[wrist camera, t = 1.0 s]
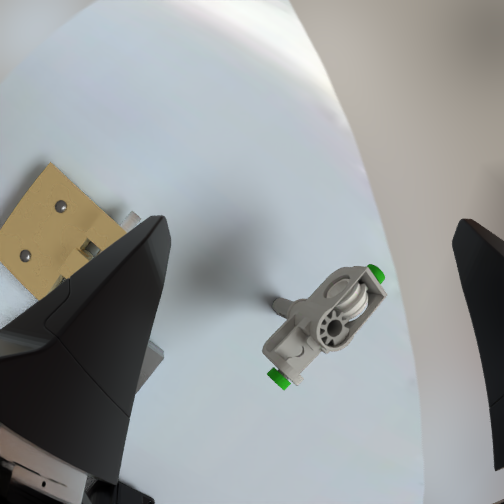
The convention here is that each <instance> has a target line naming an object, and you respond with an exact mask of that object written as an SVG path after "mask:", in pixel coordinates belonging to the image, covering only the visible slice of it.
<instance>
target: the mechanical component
mask: <svg viewBox="0 0 504 504" xmlns="http://www.w3.org/2000/svg"><path fill="white" fill-rule="evenodd" d="M384 279H385V276H384V274H383V272H382V271H381V270H380V269H379V268H378V267H376V266H375V265H372V264H369V265H368V266H367V267H361V266H354V267H343V268H340V269H338V270H336V271H335V272H333V273H332V274H331V275H330V276H329V277H328V278H327V279H326V280H325V281H324V282H323V283H322V284H321V285H320V286H319V287H318V288H317V289H316V290H315V291H314V293H313V294H312V295H311V296H310V297H309V298H308V299H299V300H296V301H295V302H293V301H290V300H287V299H284V298H278V299H276V300H275V301H274V302H273V305H272V307H273V309H274V311H276V312H277V315H279V316H281V317H284V318H286V319H287V321H286V322H285V323H284V324H283V325H282V326H281V327H280V328H279V329H278V330H277V331H276V332H275V333H274V334H273V335H272V336H271V337H270V338H269V339H268V340H267V341H266V343H265V344H264V346H263V349H262V352H263V354H264V355H265V356H266V357H267V358H268V359H269V360H270V361H271V362H272V363H273V364H274V365H275V366H276V367H277V368H278V369H279V370H278V371H277V370H276V369H275V368H274V367H273V368H272V369H271V370H270V371H269V372H268V373H267V375H268V376H269V377H270V378H271V379H272V380H273V381H274V382H275V383H276V384H277V385H278V386H280V387H281V388H282V389H283V390H285V389H286V388H287V387H288V386H289V385H290V384H291V383H290V382H289V381H288V379H290V380H291V381H292V382H293V383H294V384H296V385H297V386H298V385H299V384H300V383H301V382H302V381H303V380H304V379H303V377H302V376H301V375H300V373H301V372H302V371H303V370H304V369H305V368H306V367H307V366H308V365H309V364H310V363H311V362H312V361H313V360H314V359H315V358H316V357H317V356H318V354H319V353H320V352H321V351H322V352H324V353H326V354H328V352H329V351H332V352H333V351H339V350H341V349H343V348H345V347H346V346H347V345H348V344H349V343H350V342H351V340H352V339H353V337H354V335H355V334H356V332H357V331H358V330H359V329H360V328H361V327H362V325H363V324H364V323H365V322H366V321H367V319H368V318H369V317H370V316H371V315H372V313H373V312H374V311H375V310H376V309H377V307H378V306H379V305H380V304H381V302H382V301H383V300H384V299H385V297H386V296H387V293H386V292H385V291H384V289H383V288H382V286H381V285H380V284H381V283H382V282H383V281H384ZM367 303H368V306H367V308H366V310H365V311H364V313H363V314H362V315H361V316H359V317H358V318H357V319H355V320H353V321H350V322H349V320H350V319H352V318H354V317H356V316H357V315H358V314H360V313H361V312H362V311H363V309H364V308H365V307H366V305H367Z"/></svg>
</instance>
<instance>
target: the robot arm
mask: <svg viewBox="0 0 504 504" xmlns="http://www.w3.org/2000/svg"><path fill="white" fill-rule="evenodd" d="M452 247H453V251H454V255H455V259H456V263H457V267H458V272H459V276H460V280H461V285H462V289H463V292H464V296H465V299H466V302H467V306H468V309H469V313H470V317H471V320H472V324H473V328H474V332H475V336H476V340H477V344H478V349H479V353H480V358H481V363H482V368H483V373H484V378H485V384H486V390H487V396H488V403H489V411H490V419H491V428H492V439H493V454H494V468H495V471H497V470H500V469H502V468H504V241H503V240H502V239H500V238H499V237H497V236H496V235H495V234H493V233H492V232H490V231H489V230H487V229H486V228H484V227H483V226H481V225H480V224H479V223H477V222H476V221H474V220H472V219H461V220H460V221H459V223H458V226H457V229H456V231H455V234H454V237H453V240H452ZM170 248H171V236H170V232H169V228H168V224H167V220H166V218H165V217H164V216H163V215H158V216H150V217H149V218H147V219H146V220H145V221H143V222H142V223H140V224H139V225H137V226H136V227H135V228H133V229H132V230H130V231H129V232H128V233H126V234H125V235H124V236H122V237H121V238H120V239H118V240H117V241H115V242H114V243H113V244H111V245H110V246H109V247H107V248H106V249H105V250H103V251H102V252H101V253H99V254H98V255H97V256H96V257H94V258H93V259H92V260H90V261H89V262H88V263H86V264H85V265H84V266H83V267H81V268H80V269H79V270H77V271H76V272H75V273H74V274H72V275H71V276H70V279H69V278H67V279H66V280H65V281H64V282H62V283H61V284H60V285H59V286H57V287H56V288H55V289H54V290H52V291H51V292H50V293H49V294H47V295H46V296H45V297H43V298H42V299H41V300H39V301H38V302H37V303H35V304H34V305H33V306H31V307H30V308H29V309H27V310H26V311H25V312H23V313H22V314H21V315H19V316H18V317H17V318H15V319H14V320H13V321H11V322H10V323H9V324H7V325H6V326H5V327H3V328H2V329H0V504H155V502H154V499H153V498H151V497H148V496H146V495H144V494H142V493H140V492H138V491H136V490H134V489H132V488H130V487H128V486H126V485H124V484H122V483H120V482H119V481H118V478H119V472H120V467H121V461H122V456H123V451H124V445H125V440H126V435H127V431H128V426H129V421H130V416H131V411H132V407H133V402H134V398H135V393H136V389H137V385H138V381H139V377H140V372H141V368H142V364H143V360H144V356H145V353H146V349H147V345H148V341H149V337H150V334H151V330H152V326H153V323H154V319H155V315H156V312H157V308H158V305H159V301H160V298H161V294H162V291H163V286H164V281H165V276H166V270H167V264H168V259H169V253H170ZM87 476H88V477H91V478H94V479H96V481H95V482H94V483H93V484H92V485H91V486H90V488H89V489H88V490H87V491H86V492H85V491H84V488H85V484H86V479H87ZM149 501H151V502H149ZM493 504H504V499H502V500H500V501H498V502H496V503H493Z"/></svg>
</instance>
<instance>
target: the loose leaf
mask: <svg viewBox="0 0 504 504" xmlns="http://www.w3.org/2000/svg"><path fill="white" fill-rule="evenodd" d="M126 233H127V232H126V231H125V230H124V229H123V228H121V227H120V226H119V224H118V223H116V222H115V221H114V220H113V219H112V218H111V217H110V216H109V215H107V214H106V213H105V212H104V211H103V210H102V209H101V208H100V207H99V206H97V205H96V204H95V203H94V202H93V201H92V200H91V199H90V198H89V197H88V196H86V195H85V194H84V193H83V192H82V191H81V190H80V189H79V188H78V187H77V186H76V185H75V184H74V183H73V182H71V181H70V180H69V179H68V178H67V177H66V176H65V175H64V174H63V173H62V172H61V171H60V170H59V169H58V168H57V167H56V166H54V165H53V164H52V163H51V162H50V163H49V164H48V166H47V167H46V168H45V169H44V170H43V172H42V173H41V174H40V175H39V177H38V178H37V179H36V181H35V182H34V183H33V184H32V186H31V187H30V188H29V190H28V191H27V192H26V194H25V195H24V196H23V198H22V199H21V200H20V202H19V203H18V205H17V206H16V207H15V209H14V210H13V212H12V213H11V215H10V216H9V218H8V219H7V221H6V222H5V224H4V225H3V227H2V228H1V230H0V261H1V262H2V264H3V265H4V266H5V267H6V268H7V269H8V270H9V271H10V272H11V273H12V274H13V275H14V276H15V277H16V278H17V279H18V280H19V281H20V282H21V283H22V284H23V285H24V287H25V288H27V289H28V290H29V291H30V292H31V293H32V294H33V295H34V296H35V297H36V298H37V299H38V300H41V299H42V298H43V297H45V296H46V295H47V294H49V293H50V292H51V291H52V290H54V289H55V288H56V287H57V286H58V285H59V284H60V282H61V281H62V280H63V278H64V277H65V278H66V279H67V278H69V279H70V276H71V275H72V274H74V273H75V272H76V271H77V270H79V269H80V268H81V267H83V266H84V265H85V264H86V263H88V262H89V261H90V260H91V259H92V258H93V257H94V256H93V255H92V254H91V253H89V252H88V251H87V250H86V249H85V248H86V247H87V245H88V244H89V243H90V242H91V241H92V242H93V243H94V244H95V245H96V246H97V247H98V248H99V249H100V250H102V251H103V250H105V249H106V248H107V247H109V246H110V245H111V244H113V243H114V242H115V241H117V240H118V239H120V238H121V237H122V236H124V235H125V234H126Z"/></svg>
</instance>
